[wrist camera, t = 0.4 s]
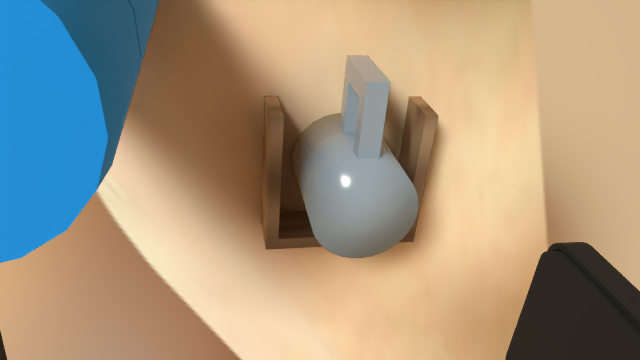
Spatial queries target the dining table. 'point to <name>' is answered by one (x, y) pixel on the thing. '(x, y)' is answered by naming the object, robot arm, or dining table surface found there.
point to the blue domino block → (62, 107)
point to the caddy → (296, 225)
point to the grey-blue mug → (355, 171)
